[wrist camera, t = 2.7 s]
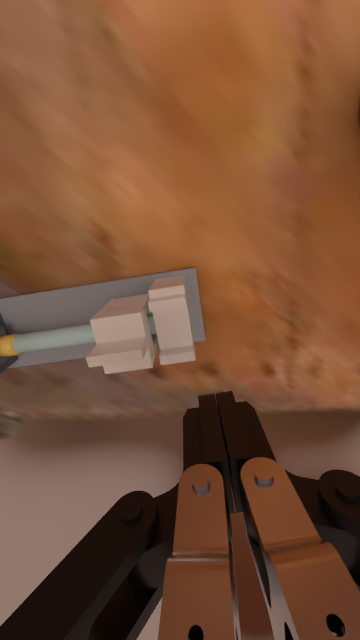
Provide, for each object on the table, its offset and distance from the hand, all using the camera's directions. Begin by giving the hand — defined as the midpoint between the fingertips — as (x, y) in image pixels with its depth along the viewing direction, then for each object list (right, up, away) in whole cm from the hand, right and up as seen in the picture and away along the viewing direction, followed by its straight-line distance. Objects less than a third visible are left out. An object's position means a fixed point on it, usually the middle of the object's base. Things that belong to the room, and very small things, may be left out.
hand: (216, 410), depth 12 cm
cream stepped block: (-6, +4, +15) cm, 17 cm away
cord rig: (-12, +4, +17) cm, 22 cm away
